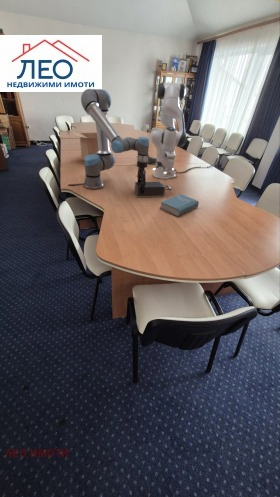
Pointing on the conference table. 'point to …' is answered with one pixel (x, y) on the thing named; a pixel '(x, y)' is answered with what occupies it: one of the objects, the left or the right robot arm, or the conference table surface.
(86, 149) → the box
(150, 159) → the laser sight
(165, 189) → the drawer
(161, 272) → the conference table surface
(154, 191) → the dark boxy piece
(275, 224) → the conference table surface
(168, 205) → the book
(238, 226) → the conference table surface
